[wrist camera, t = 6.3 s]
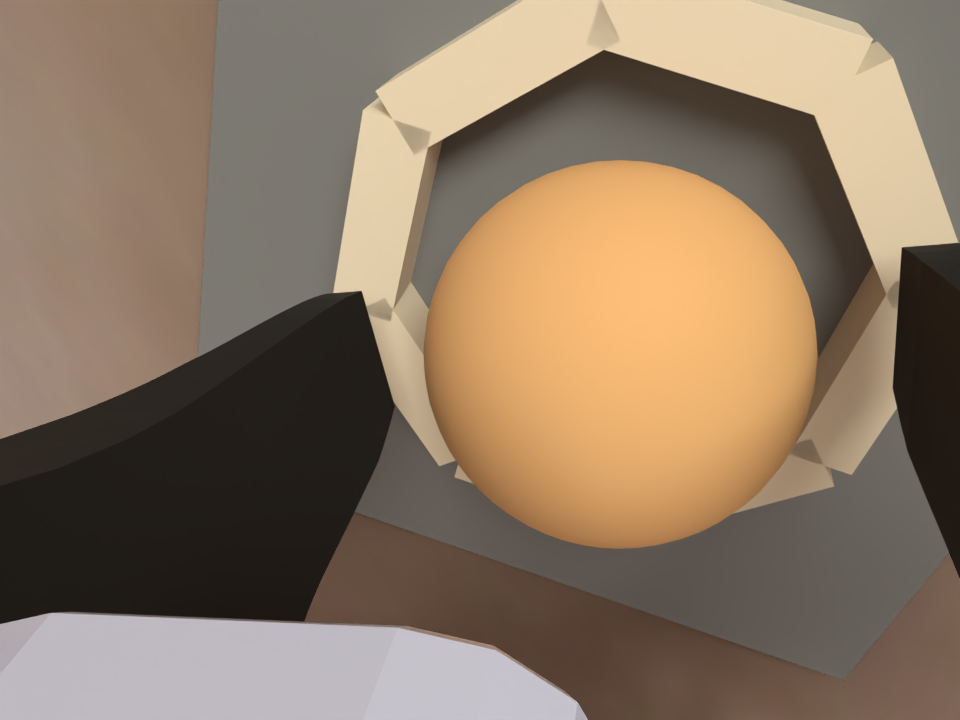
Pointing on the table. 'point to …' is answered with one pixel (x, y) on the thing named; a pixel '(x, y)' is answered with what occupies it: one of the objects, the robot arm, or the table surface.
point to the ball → (620, 354)
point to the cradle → (606, 137)
